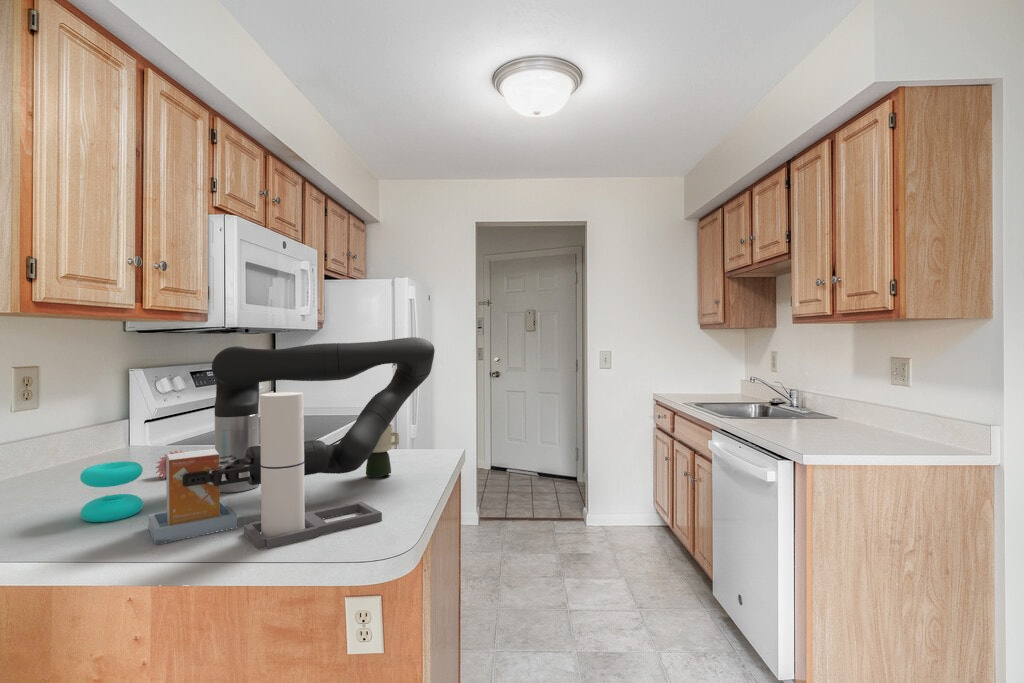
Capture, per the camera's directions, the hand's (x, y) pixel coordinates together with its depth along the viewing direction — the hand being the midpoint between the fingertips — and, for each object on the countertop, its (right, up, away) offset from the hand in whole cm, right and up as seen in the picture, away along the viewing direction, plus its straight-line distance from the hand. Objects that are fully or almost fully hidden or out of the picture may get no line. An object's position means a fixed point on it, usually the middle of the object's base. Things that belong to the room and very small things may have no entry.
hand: (179, 476), depth 99 cm
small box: (+2, -9, +1) cm, 10 cm away
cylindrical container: (+20, -10, -2) cm, 22 cm away
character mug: (+27, -10, +39) cm, 48 cm away
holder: (+24, -10, +1) cm, 26 cm away
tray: (+2, -10, +1) cm, 10 cm away
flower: (-26, -10, +40) cm, 48 cm away
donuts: (-19, -10, +9) cm, 23 cm away
